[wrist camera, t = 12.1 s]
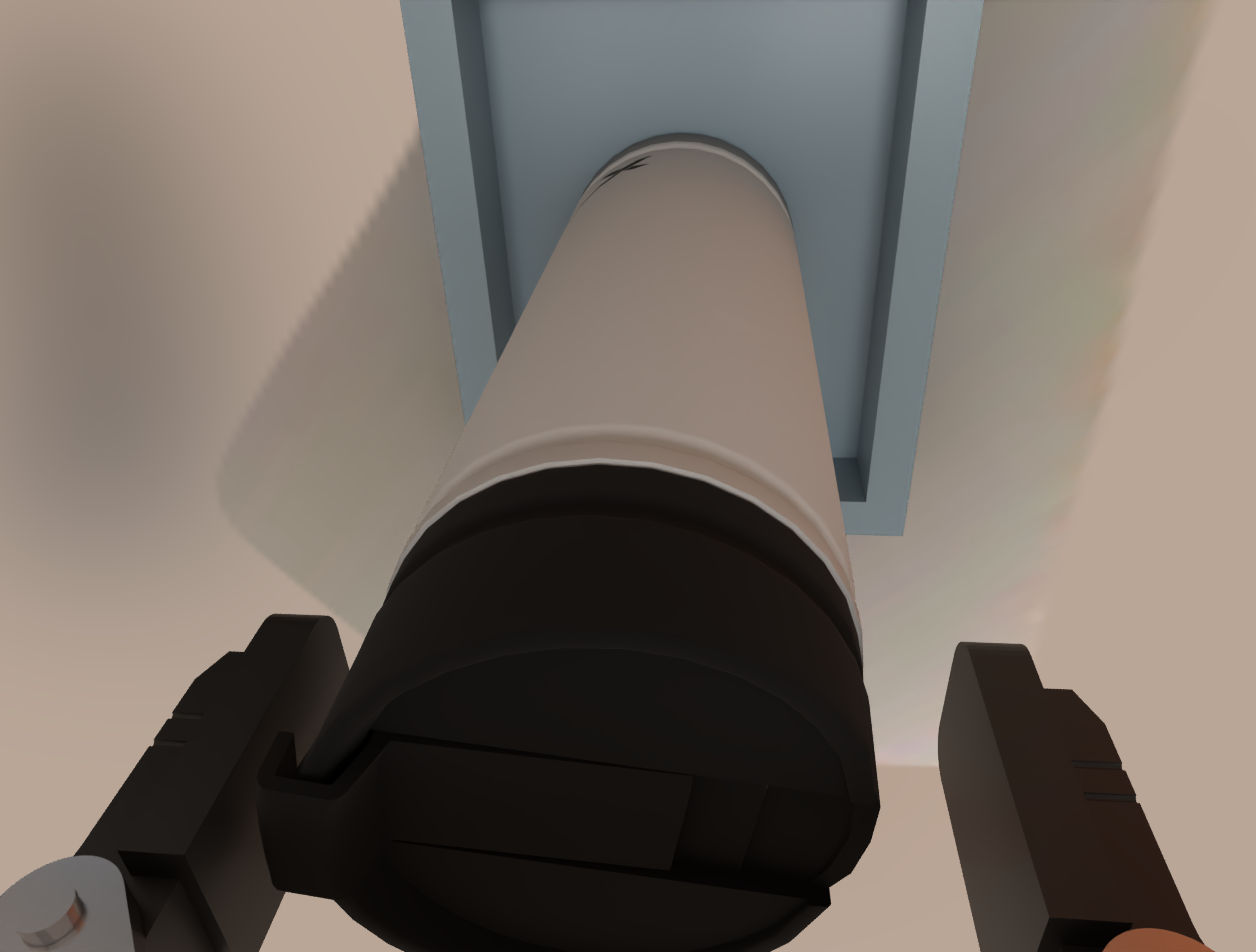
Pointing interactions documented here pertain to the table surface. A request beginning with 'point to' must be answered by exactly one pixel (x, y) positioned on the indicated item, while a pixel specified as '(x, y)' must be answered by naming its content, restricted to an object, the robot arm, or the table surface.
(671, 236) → the travel mug
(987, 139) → the table surface
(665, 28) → the slate tray
